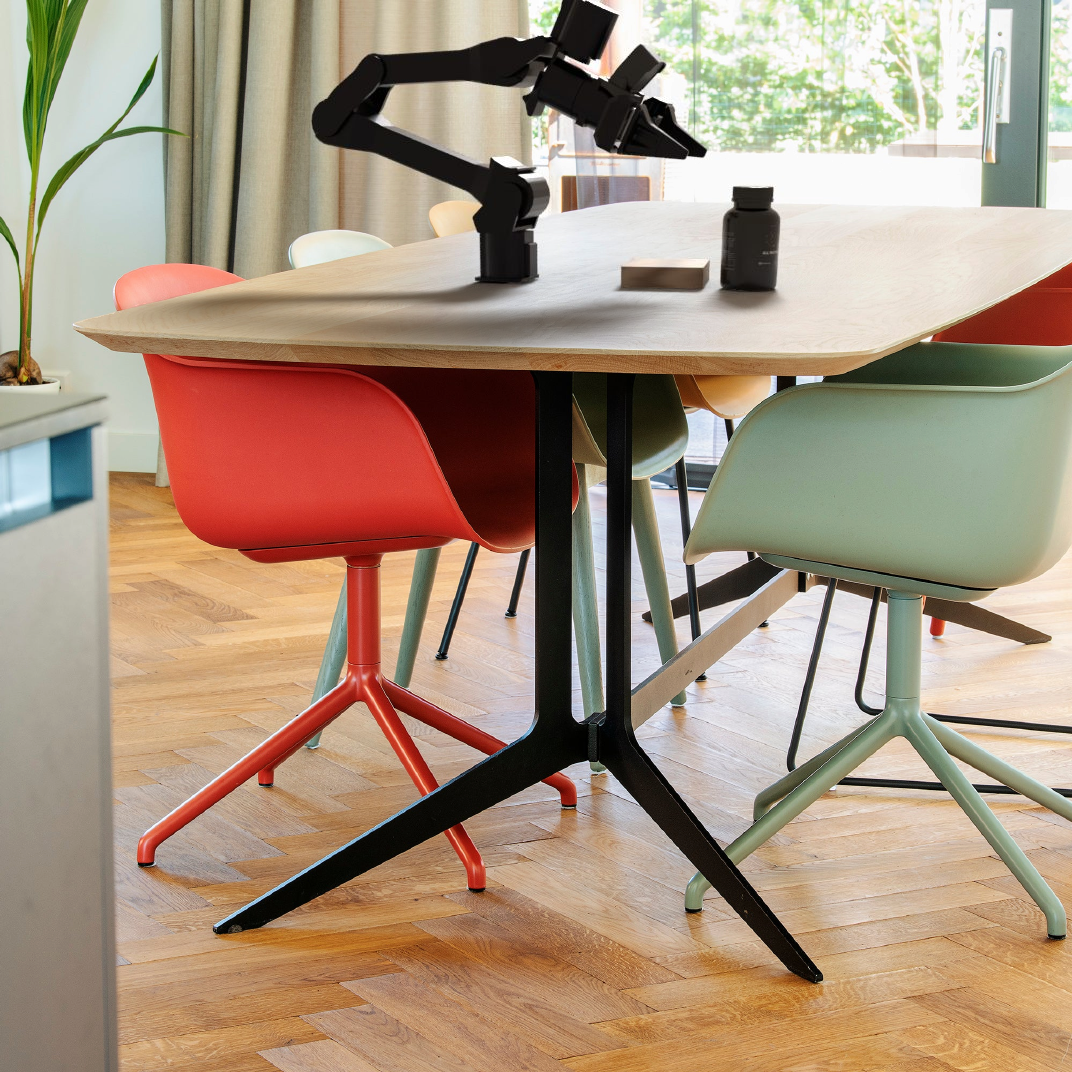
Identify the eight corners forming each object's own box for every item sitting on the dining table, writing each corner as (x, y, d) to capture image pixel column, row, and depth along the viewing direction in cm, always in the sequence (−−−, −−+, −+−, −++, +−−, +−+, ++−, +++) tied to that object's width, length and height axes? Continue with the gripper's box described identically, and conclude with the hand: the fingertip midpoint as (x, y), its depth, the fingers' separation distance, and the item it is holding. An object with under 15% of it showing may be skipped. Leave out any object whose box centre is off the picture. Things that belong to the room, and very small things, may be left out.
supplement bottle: (776, 292, 153) (781, 187, 150) (717, 291, 155) (721, 187, 151) (777, 285, 160) (782, 184, 156) (721, 284, 161) (725, 184, 157)
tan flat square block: (620, 287, 159) (621, 266, 159) (631, 277, 169) (631, 258, 168) (702, 288, 157) (703, 267, 157) (709, 279, 167) (709, 259, 166)
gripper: (586, 26, 145) (708, 87, 142) (633, 36, 162) (744, 90, 159) (547, 121, 150) (664, 182, 147) (596, 121, 166) (703, 176, 164)
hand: (696, 154), depth 154 cm, fingers open, 9 cm apart
